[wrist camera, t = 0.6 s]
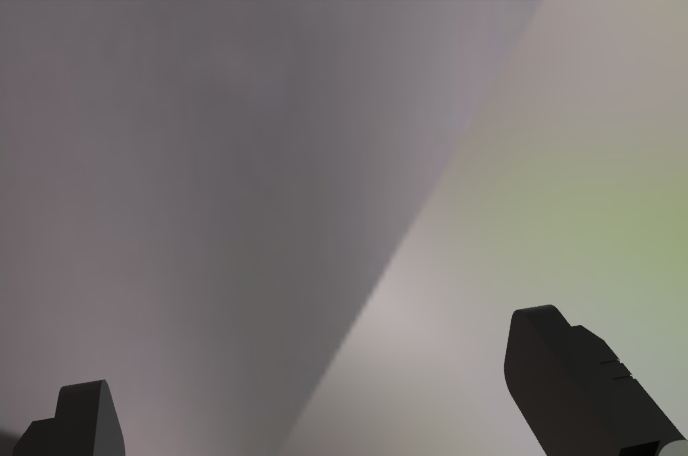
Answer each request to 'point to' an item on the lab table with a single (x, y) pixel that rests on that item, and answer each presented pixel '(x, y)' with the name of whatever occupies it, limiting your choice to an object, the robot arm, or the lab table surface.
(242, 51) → the lab table surface
